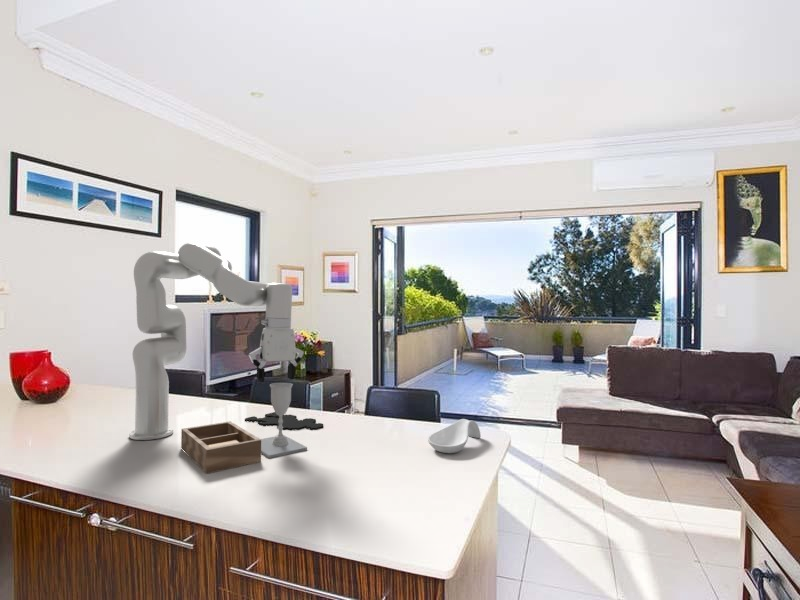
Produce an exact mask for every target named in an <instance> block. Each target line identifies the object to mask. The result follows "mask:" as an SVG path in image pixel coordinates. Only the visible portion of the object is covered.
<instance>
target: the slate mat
mask: <svg viewBox="0 0 800 600" xmlns="http://www.w3.org/2000/svg"><path fill="white" fill-rule="evenodd" d="M285 436H286V435H285ZM274 437H275V436H269V437H266V438H260V439H261V453H262V454H261V455H263V456H265V457H266V458H268V459H272V458H278V457H280V456H285V455H291V454H294V453H295V454H297V453H301V452H304V451H305V452H306V451H307V450H308V447H307V446H305V445H304V444H302V443H300V442H298V441H296V440H294V439H292V438H290V437H288V436H286V437H287V441H288V442H289V444H287V445H284V446H274V445H272V442H273V440H274Z"/></svg>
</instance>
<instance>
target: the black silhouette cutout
mask: <svg viewBox="0 0 800 600" xmlns="http://www.w3.org/2000/svg"><path fill="white" fill-rule="evenodd" d="M282 420H283V423H282V426H283V427H284V428H283V429H282V431H286V430H287V431H296V430H297V431H300V430H303V429H306V430H309V431H316V430H320V429H324V423H321V422H320V423H319V422H318V423H317V422H316V418H311V417H310V418H303V419H298V418H297V415H295V414H284V415H283V416H282ZM247 421H249V422H251V421H252V422H251V423H254V422H255V421H256V423H257V425H258V424H259V426H262V425H263V427H266V425H267V427H270V426H271V427H273V426H276V428H277V429H278V427H279V422H278V421H279V415H277V414H276V413H275V411H274V412H269V413H265V414H264V417H257V416H255V415H254V416H253V415H252V416H249V417H245V418H244V422H247Z"/></svg>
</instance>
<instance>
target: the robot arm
mask: <svg viewBox="0 0 800 600" xmlns="http://www.w3.org/2000/svg"><path fill="white" fill-rule="evenodd" d="M232 269H233V267H232V263H231V261H229V260H227V259H226V258H224V257H223V256H222V255H221V252H220V251H219V249H217V248H216V247H214V246H212V245H209V244H204V243H200V242H193V241H192V242H187V243H184V244H183V245H181V247H179V249H178V252H177V253H172V252H167V251H162V250H161V251H158V250H154V251H153V250H152V251H148V252H146V253H143V254H142V255H141V256H140V257H138V259H137V260H136V262H135V265H134V267H133V279H134V280H133V281H134V287H135V292H136V299H135V301H136V322H137V328H138V330H139V331H140V332H141V333H143V334H146V335H147V334H149V335H156V334H160V336H159V337H150V338H145V339H143V340H140V341H139V342H138V343H136V344H135V346H134V347H133V349H132V362H133V366H134V371H135V405H134V406H135V411H134V412H135V415H134V416H135V418H134V421H135V422H134V430H132V431H131V432H129V438H130V439H132V440H135V441H149V440H156V439H157V440H158V439H163V438H166V437H169V436H171V435H172V434H173V433H174V428H173V427H170V426H169V399H170V398H169V397H170V395H169V394H170V393H169V392H170V390H169V388H170V385H169V384H170V381H169V375H168V372H167V370H166V368H165V366H169V365H173V364H174V365H175V364H178V363H180V362H181V361H183V360H184V358H185V356H186V354H187V325H186V324H187V323H186V317H185V314H184V312H183V310H182V309H181V308H180V307H179V306H177V305H174V304H173V305H172V304H167V298H166V296H167V293H166V289H165V287H164V285H163V282H162V281H161V279H172V280H173V279H174V280H186V279H189V278H193V277H197V276H200V277H202V278H204V279H205V280H207V281H209V282H210V283H211V284H212V285H213V287H214V288H215V290H217V292H218V293H219V294H221V296H223V297H225V298H227V299H229V300H230V301H232V302H234V303H235V304H237V305H238V306H239V305H240V306H243V307H265V318H264V319H261V321H260V324H261V325H264V328H262V332H261V337H260V343H259V347H258V348H255V350H253V351H251V352H249V353H248V357H249V359H250V361H251V363H252V364H253V365H254V366H255V368H256V379H257V381H258V382H260V383H264V382H265V368H264V366H265V365H266V364H267V363H278V362H280V363H281V362H288V366H287V378H288V379H290V380H294V379H295V376H296V367H297V366H298V364H299V362H300V361H301V360H302V358H303V356H304V354H305V353H304V351H303V350H302V349H299V348H297V347H296V338H295V337H296V336H295V335H296V334H295V331H294V328H293V327H292V309H293V308H292V305H293V303H292V302H293V287H292V285H291V284H289V283H283V282H282V283H279V282H271V283H267V282H260V281H252V280H251V281H250V280H246V279H244V278H242V277H241V276H239V275H238V274H236V273H234V272H233V271H232ZM256 356H259V359H258V360H257V358H256Z"/></svg>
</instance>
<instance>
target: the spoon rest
mask: <svg viewBox="0 0 800 600" xmlns="http://www.w3.org/2000/svg"><path fill="white" fill-rule="evenodd" d="M469 437H470V438H475V439H481V438H482V437H481V430H480V428H479V425H478V423H477V422H476V421H475V420H472V419H471V420H469V419H466V418H461V419H459V420H457V421H455V422H453V423H451V424H450V425H448V426H446V427H444V428H441V429H440V430H438V431H436V432H433V434H430V435H429V436H428V437H427V438H428V439H427V442H428V444H429V445H430V446H431V447H432V448H433V449H434V450H436V451H437V452H440V453H443V454H449V455H450V454H456V453H459V451H461V450H463V448H465V446H466V444H467V443H468V438H469Z"/></svg>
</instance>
